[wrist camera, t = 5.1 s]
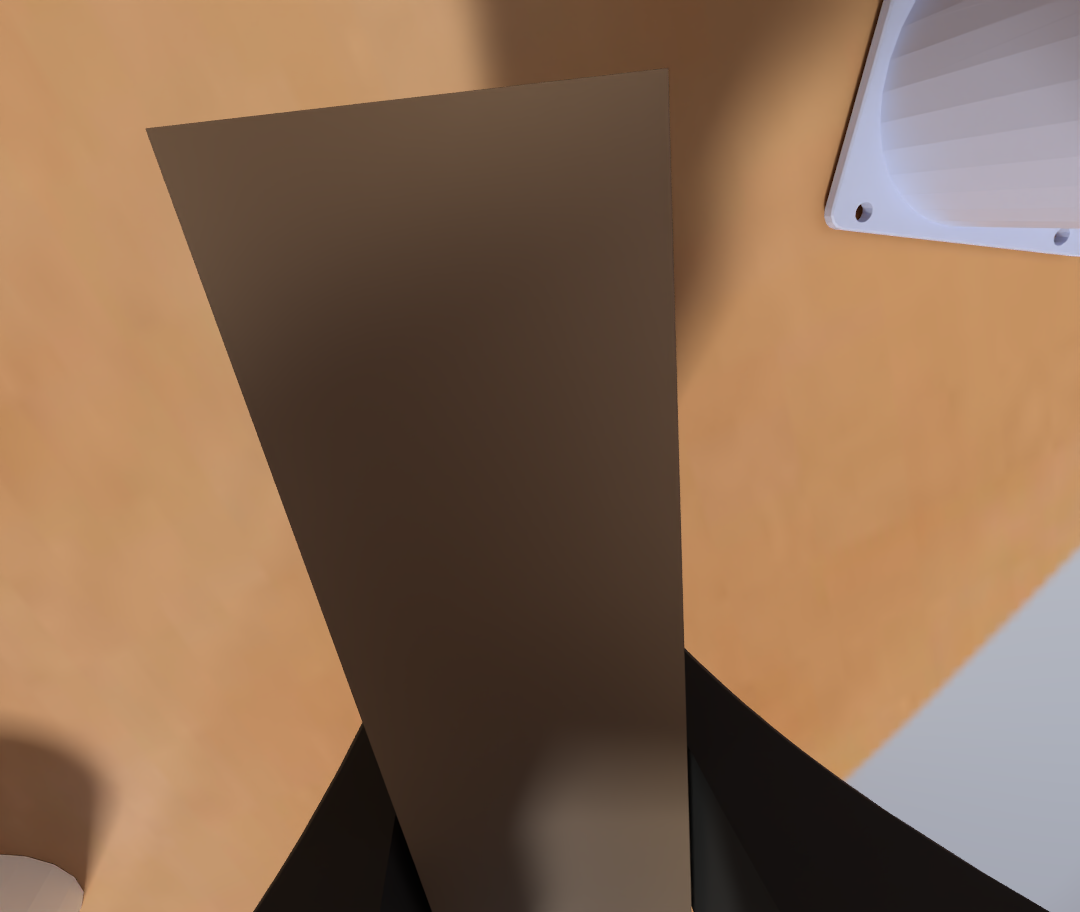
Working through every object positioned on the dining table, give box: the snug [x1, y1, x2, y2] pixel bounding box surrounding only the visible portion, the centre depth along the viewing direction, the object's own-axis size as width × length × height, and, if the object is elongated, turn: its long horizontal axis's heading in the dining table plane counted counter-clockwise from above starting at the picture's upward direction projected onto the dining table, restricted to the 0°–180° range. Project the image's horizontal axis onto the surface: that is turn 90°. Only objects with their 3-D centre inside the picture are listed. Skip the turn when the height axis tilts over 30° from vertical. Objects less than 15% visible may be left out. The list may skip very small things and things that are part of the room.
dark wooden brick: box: [146, 68, 691, 912], centre depth 9 cm, size 3×14×6 cm, turn 7°
